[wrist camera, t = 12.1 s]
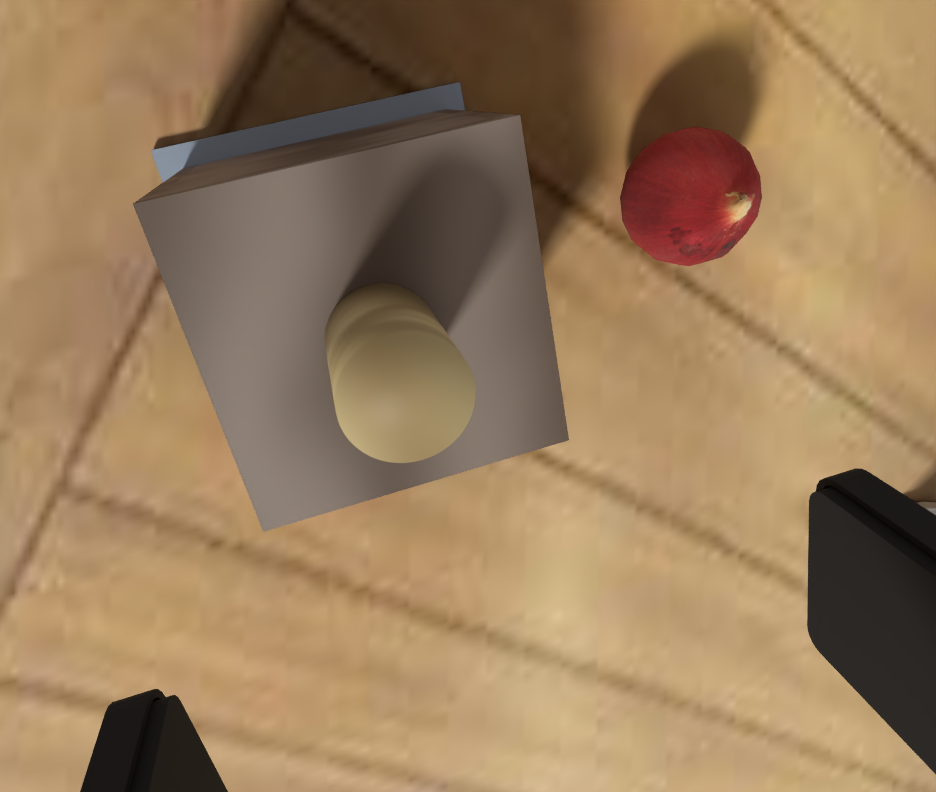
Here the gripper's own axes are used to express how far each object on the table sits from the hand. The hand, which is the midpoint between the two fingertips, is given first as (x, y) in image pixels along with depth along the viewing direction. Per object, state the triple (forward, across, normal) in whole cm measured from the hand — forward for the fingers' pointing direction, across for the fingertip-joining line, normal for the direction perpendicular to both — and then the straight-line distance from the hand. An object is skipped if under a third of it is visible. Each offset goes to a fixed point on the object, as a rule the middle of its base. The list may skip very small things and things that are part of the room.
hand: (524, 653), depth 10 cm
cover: (+24, +1, -1) cm, 24 cm away
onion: (+25, -14, -1) cm, 29 cm away
